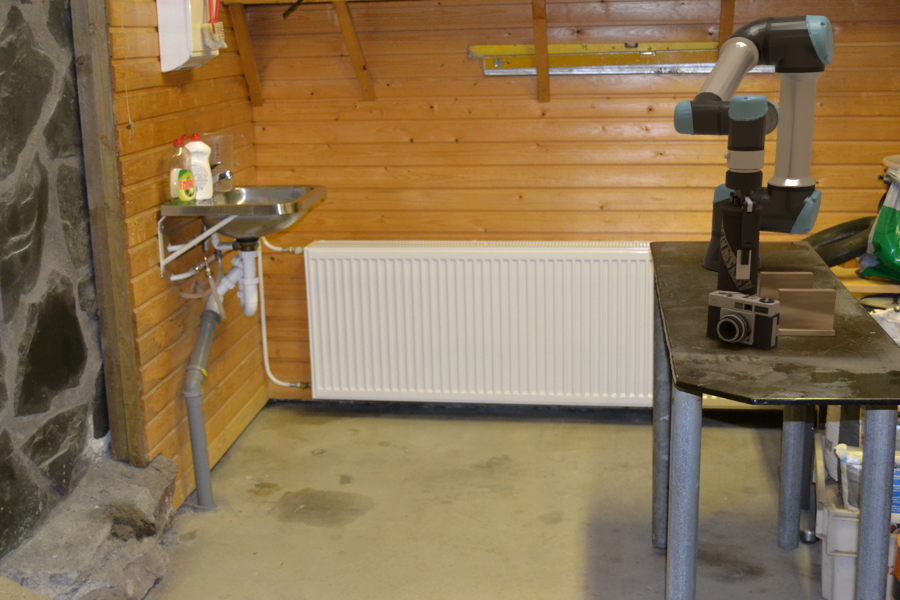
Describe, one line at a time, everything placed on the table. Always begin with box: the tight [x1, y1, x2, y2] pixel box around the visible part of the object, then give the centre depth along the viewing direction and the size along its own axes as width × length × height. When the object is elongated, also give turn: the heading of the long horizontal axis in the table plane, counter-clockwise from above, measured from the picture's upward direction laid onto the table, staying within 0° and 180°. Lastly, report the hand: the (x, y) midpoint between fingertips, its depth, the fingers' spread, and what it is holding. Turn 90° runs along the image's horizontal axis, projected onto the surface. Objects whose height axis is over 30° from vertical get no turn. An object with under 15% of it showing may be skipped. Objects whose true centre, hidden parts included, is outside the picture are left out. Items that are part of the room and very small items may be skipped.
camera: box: [705, 290, 780, 351], centre depth 177 cm, size 14×9×10 cm, turn 37°
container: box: [716, 202, 763, 297], centre depth 193 cm, size 9×9×20 cm
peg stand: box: [758, 271, 837, 337], centre depth 191 cm, size 20×11×9 cm, turn 175°
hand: (738, 273), depth 195 cm, fingers closed on container, 8 cm apart
